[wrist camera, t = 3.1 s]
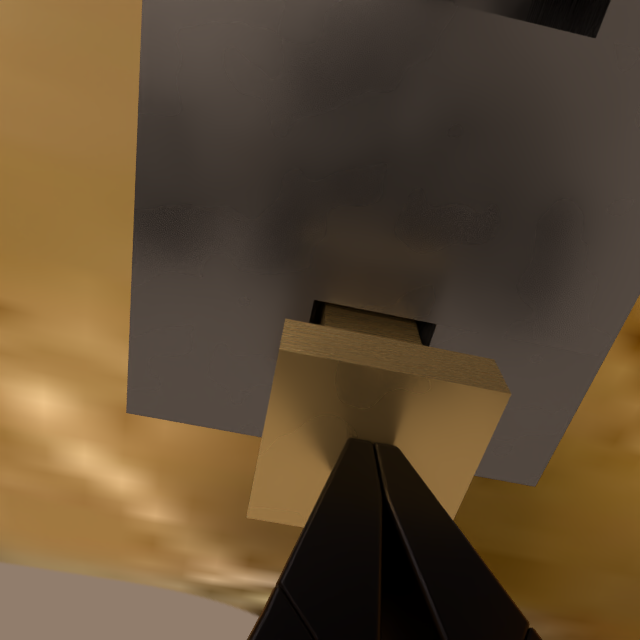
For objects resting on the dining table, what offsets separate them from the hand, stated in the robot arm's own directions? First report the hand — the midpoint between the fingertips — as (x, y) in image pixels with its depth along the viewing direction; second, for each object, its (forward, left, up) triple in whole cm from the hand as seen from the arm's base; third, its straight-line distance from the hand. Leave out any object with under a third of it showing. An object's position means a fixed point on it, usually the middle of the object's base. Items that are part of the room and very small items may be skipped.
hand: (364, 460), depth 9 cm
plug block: (0, 0, -7) cm, 7 cm away
